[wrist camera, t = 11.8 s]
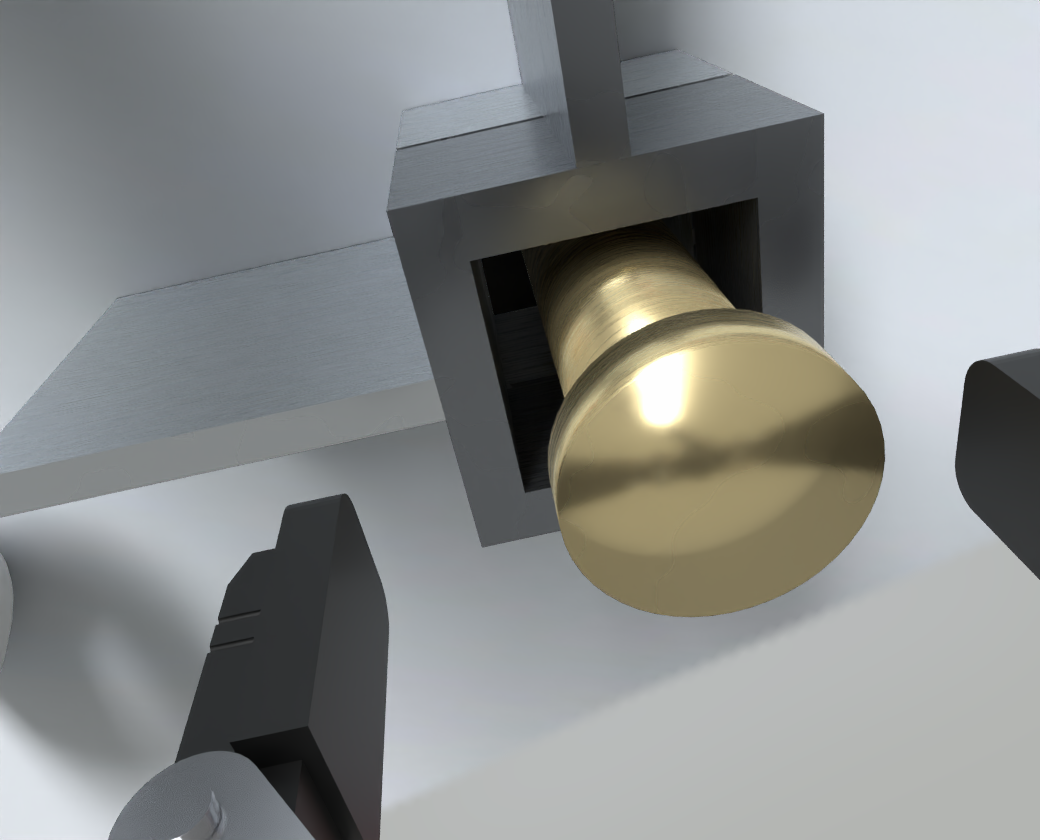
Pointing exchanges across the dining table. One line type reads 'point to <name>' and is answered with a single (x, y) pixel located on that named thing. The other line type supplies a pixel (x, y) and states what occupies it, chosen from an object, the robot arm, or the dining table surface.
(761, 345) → the pin
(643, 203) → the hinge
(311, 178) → the dining table surface
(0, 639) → the donut
